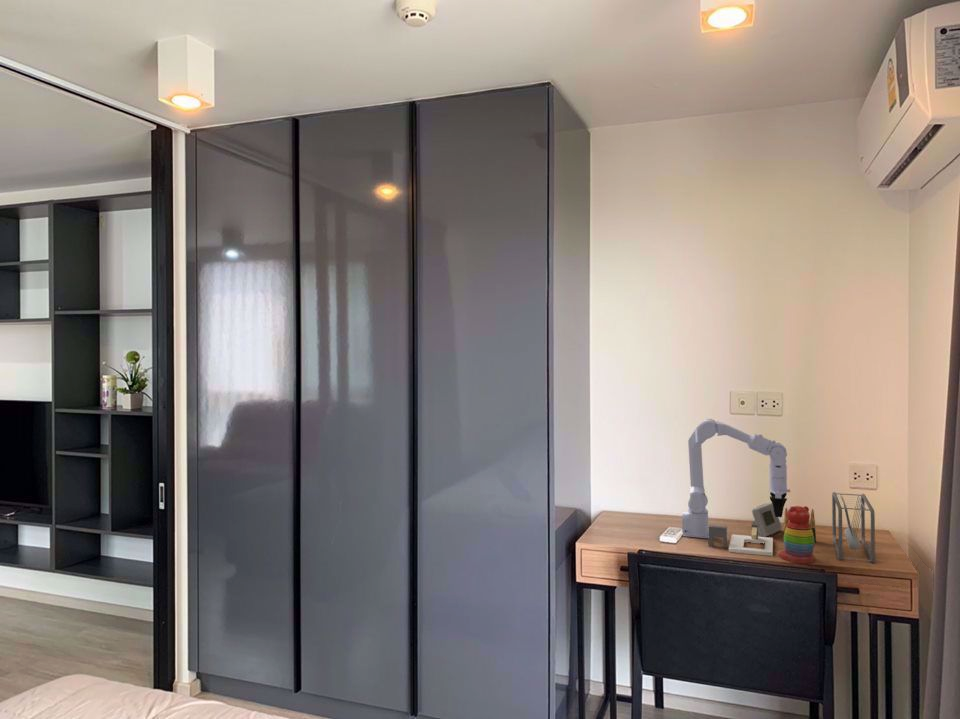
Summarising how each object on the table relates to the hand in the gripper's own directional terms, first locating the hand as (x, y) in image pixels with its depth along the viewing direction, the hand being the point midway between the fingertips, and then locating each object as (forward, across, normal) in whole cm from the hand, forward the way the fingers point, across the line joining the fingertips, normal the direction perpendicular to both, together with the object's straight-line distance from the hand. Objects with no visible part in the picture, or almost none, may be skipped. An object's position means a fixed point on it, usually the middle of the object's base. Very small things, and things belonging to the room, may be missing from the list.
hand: (778, 514), depth 251 cm
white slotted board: (+10, -9, +9) cm, 16 cm away
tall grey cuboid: (+10, -13, +20) cm, 26 cm away
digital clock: (+10, +12, +4) cm, 16 cm away
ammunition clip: (+10, +5, -7) cm, 13 cm away
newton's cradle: (+10, -3, -23) cm, 26 cm away
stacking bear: (+10, -20, -6) cm, 23 cm away
